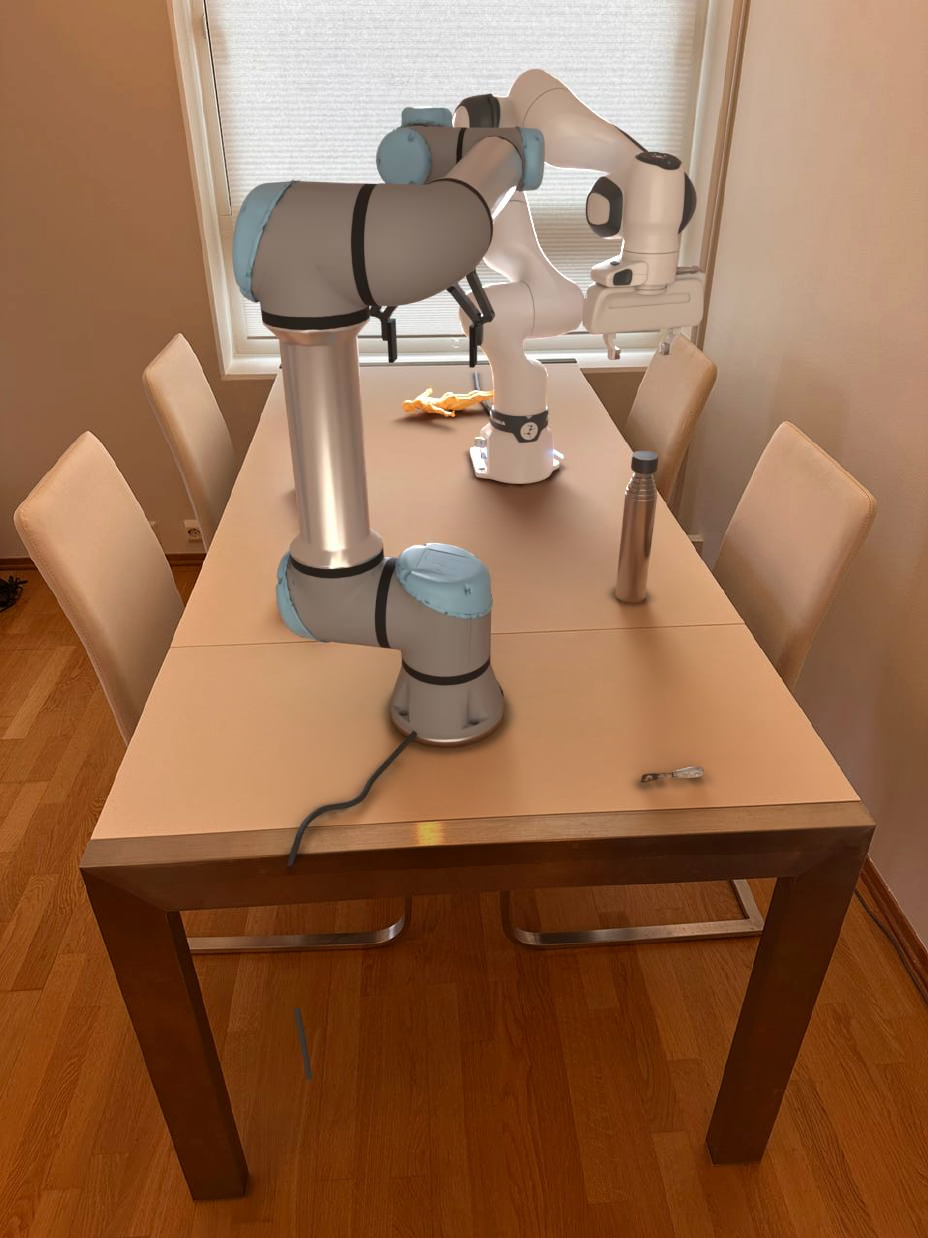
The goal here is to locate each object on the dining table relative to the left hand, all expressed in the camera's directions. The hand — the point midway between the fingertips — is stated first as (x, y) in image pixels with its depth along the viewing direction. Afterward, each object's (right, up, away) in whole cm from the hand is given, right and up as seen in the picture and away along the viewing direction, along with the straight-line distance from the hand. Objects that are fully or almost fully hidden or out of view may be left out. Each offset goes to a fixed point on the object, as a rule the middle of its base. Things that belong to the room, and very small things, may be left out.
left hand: (432, 363), depth 147 cm
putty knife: (+31, -62, -38) cm, 79 cm away
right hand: (+34, +1, +1) cm, 34 cm away
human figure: (+2, +11, +79) cm, 80 cm away
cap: (+32, -18, -12) cm, 39 cm away
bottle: (+33, -38, 0) cm, 50 cm away
